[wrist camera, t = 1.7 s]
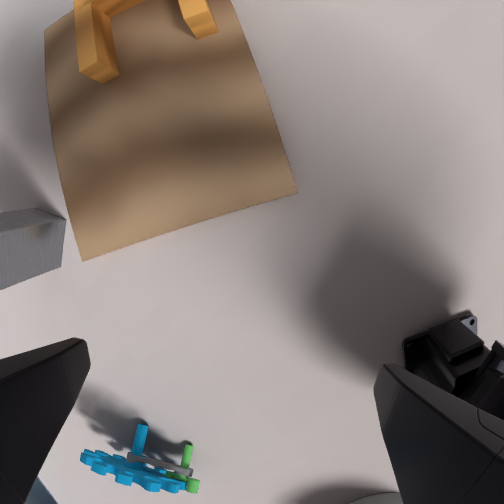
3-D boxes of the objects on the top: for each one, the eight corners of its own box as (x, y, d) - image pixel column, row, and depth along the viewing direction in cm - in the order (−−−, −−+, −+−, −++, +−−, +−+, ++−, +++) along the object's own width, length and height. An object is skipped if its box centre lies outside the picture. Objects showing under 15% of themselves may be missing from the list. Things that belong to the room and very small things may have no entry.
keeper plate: (297, 193, 19) (299, 192, 15) (89, 259, 22) (57, 271, 18) (209, -48, 16) (197, -76, 12) (50, 33, 19) (24, 20, 15)
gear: (95, 457, 25) (62, 467, 16) (106, 410, 28) (76, 403, 19) (194, 486, 25) (198, 511, 17) (204, 438, 29) (211, 445, 20)
